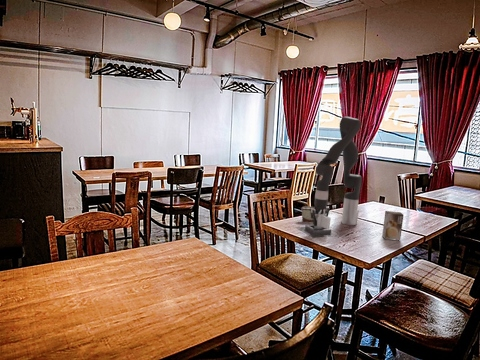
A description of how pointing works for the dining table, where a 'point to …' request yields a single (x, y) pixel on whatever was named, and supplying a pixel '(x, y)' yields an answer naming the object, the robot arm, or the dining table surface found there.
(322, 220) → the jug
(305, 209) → the food container
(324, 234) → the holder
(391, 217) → the coffee box
